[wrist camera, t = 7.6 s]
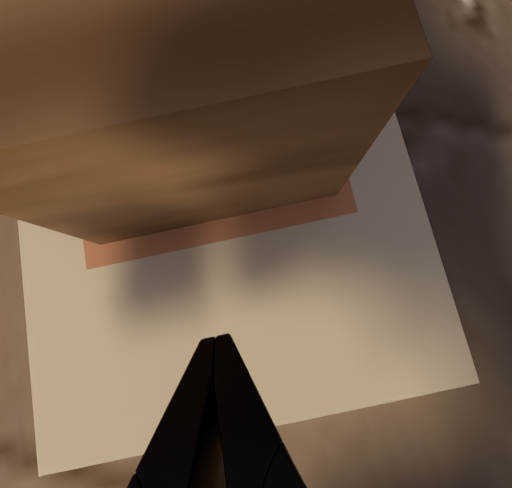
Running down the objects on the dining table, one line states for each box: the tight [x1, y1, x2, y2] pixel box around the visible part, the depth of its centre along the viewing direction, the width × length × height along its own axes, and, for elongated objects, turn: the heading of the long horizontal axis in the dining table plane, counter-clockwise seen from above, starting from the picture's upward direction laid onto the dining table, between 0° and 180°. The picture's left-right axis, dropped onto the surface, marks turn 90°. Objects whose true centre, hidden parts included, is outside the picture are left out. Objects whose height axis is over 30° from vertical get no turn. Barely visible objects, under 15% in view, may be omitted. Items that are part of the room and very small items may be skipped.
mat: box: [18, 112, 480, 476], centre depth 16 cm, size 25×20×1 cm
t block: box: [0, 0, 433, 245], centre depth 12 cm, size 15×12×9 cm
